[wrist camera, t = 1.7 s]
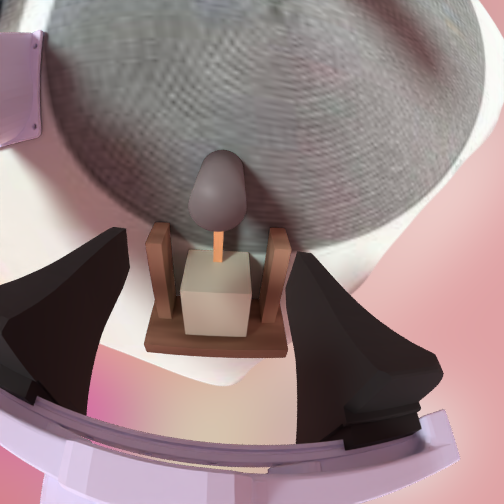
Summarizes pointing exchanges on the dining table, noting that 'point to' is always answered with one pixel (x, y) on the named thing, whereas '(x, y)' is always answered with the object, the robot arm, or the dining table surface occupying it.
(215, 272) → the multicoloured piece
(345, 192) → the dining table surface
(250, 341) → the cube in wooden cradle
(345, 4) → the dining table surface
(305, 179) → the dining table surface
